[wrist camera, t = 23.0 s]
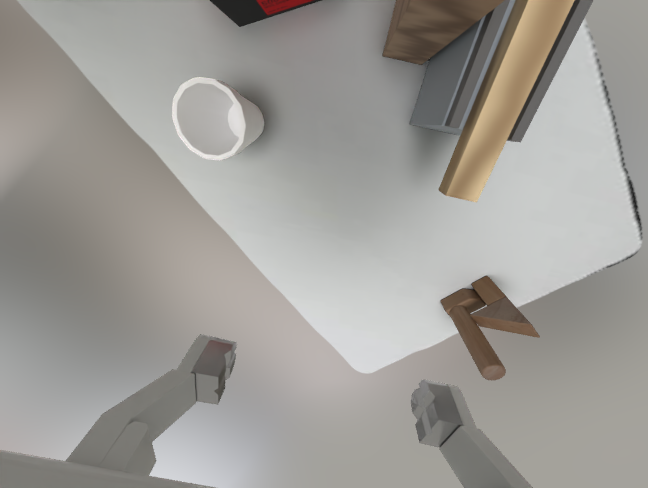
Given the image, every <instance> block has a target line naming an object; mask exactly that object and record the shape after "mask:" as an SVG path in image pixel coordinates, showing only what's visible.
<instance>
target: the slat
mask: <svg viewBox="0 0 648 488" xmlns="http://www.w3.org/2000/svg"><path fill="white" fill-rule="evenodd" d="M574 1H575V0H515V3H514V5H513V8H512V10H511V13H510V15H509V17H508V20H507V22H506V25H505V27H504V30H503V32H502V35H501V37H500V40H499V42H498V45H497V47H496V49H495V52H494V54H493V57H492V59H491V62H490V64H489V67H488V69H487V72H486V74H485V77H484V79H483V81H482V84H481V86H480V89H479V91H478V94H477V96H476V99H475V101H474V104H473V106H472V109H471V111H470V113H469V116H468V118H467V121H466V123H465V126H464V128H463V131H462V133H461V136H460V138H459V141H458V143H457V146H456V148H455V150H454V153H453V155H452V158H451V160H450V163H449V165H448V168H447V170H446V173H445V175H444V178H443V180H442V182H441V185H440V187H439V191H440V192H442V193H443V194H444V195H446V196H450V197H455V198H459V199H464V200H468V201H473V202H477V200H478V198H479V196H480V194H481V192H482V190H483V188H484V186H485V184H486V182H487V180H488V178H489V176H490V174H491V172H492V170H493V167H494V165H495V163H496V161H497V159H498V157H499V155H500V153H501V151H502V149H503V147H504V145H505V143H506V141H507V139H508V137H509V135H510V132H511V130H512V128H513V126H514V124H515V122H516V120H517V118H518V116H519V114H520V112H521V110H522V108H523V106H524V104H525V102H526V100H527V97H528V95H529V93H530V91H531V89H532V87H533V85H534V83H535V81H536V79H537V77H538V75H539V73H540V71H541V69H542V67H543V65H544V62H545V60H546V58H547V56H548V54H549V52H550V50H551V48H552V46H553V44H554V42H555V40H556V38H557V36H558V34H559V32H560V30H561V27H562V25H563V23H564V21H565V19H566V17H567V15H568V13H569V11H570V9H571V7H572V5H573V3H574Z"/></svg>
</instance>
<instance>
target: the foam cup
mask: <svg viewBox="0 0 648 488" xmlns="http://www.w3.org/2000/svg"><path fill="white" fill-rule="evenodd" d="M172 119H173V121H174V124H175V127H176V130H177V133H178V136H179V137H180V138H181V139H182V141H183V142H184V143H185V144H186V146H187V147H188V148H189V149H190V150H191V151H193V152H194V153H196V154H198V155H199V156H201V157H203V158H204V159H212V160H223V159H227V158H229V157H232V156H234V155H237V154H239V153H241V152H242V150H243V149H244V148H245V147H247V146H248V145H249V144H251V143H252V142H253V141H255V140H256V139H257V138H258V137H259V136H260V135H261V133H262V132H263V128H264V119H263V114H262V113H261V111H260V110H259V108H258V107H257V106H256V105H255V104H253V103H252V102H250V101H249V100H247V99H246V98H244V97H243V96H241V95H240V94H239V93H238V91H236V90H235V89H233V88H232V87H230V86H229V85H227V84H225V83H224V82H222V81H220V80H216V79H213V78H203V77H194V78H192V79H190V80H189V81H187V82H185V83H183V84H181V86H180V87H179V89H178V91H177V93H176V94H175V96H174V98H173V108H172Z"/></svg>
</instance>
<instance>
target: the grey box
mask: <svg viewBox="0 0 648 488" xmlns="http://www.w3.org/2000/svg"><path fill="white" fill-rule="evenodd" d="M592 2H593V0H575V1H574V3H573V5H572V7H571V9H570V11H569V13H568V15H567V17H566V19H565V21H564V23H563V25H562V27H561V30H560V32H559V34H558V36H557V38H556V40H555V42H554V44H553V46H552V48H551V50H550V52H549V54H548V56H547V58H546V60H545V62H544V65H543V67H542V69H541V71H540V73H539V75H538V77H537V79H536V81H535V83H534V85H533V87H532V89H531V91H530V93H529V95H528V97H527V100H526V102H525V104H524V106H523V108H522V110H521V112H520V114H519V116H518V118H517V120H516V122H515V124H514V126H513V128H512V130H511V132H510V135H509V137H508V139H507V141H513V142H514V141H515V142H521V140H522V138H523V137H524V135H525V133H526V131H527V129H528V127H529V125H530V123H531V121H532V119H533V117H534V115H535V113H536V111H537V109H538V107H539V105H540V103H541V101H542V99H543V97H544V96H545V94H546V92H547V90H548V88H549V86H550V84H551V82H552V80H553V78H554V76H555V74H556V72H557V70H558V68H559V66H560V64H561V62H562V60H563V58H564V57H565V55H566V53H567V51H568V49H569V47H570V45H571V43H572V41H573V39H574V37H575V35H576V33H577V31H578V29H579V27H580V25H581V23H582V21H583V19H584V18H585V15H586V14H587V12H588V10H589V8H590V6H591V4H592ZM514 3H515V0H504V1H503V2H502V3H501V4H499V5H498V6H497V7H495V8H494V9H493V10H492V11H490V12H489V13H488V14H486V15H485V16H484V17H483V18H481V19H480V20H479V21H477V22H476V23H475V24H474V25H472V26H471V27H470V28H468V29H467V30H466V31H464V32H463V33H462V34H461V35H459V36H458V37H457V38H455V39H454V40H453V41H452V42H450V43H449V44H448V45H446V46H445V47H444V48H443V49H441V50H440V51H439V52H437V53H436V54H435V55H434V56H432V57H431V58H430V61H429V64H428V67H427V71H426V74H425V77H424V80H423V83H422V86H421V89H420V93H419V96H418V99H417V102H416V105H415V108H414V111H413V114H412V118H411V121H410V124H411V125H415V126H420V127H424V128H428V129H433V130H437V131H442V132H446V133H451V134H455V135H461V133H462V131H463V128H464V126H465V123H466V121H467V118H468V116H469V113H470V111H471V109H472V106H473V104H474V101H475V99H476V96H477V94H478V91H479V89H480V86H481V84H482V81H483V79H484V77H485V74H486V72H487V69H488V67H489V64H490V62H491V59H492V57H493V54H494V52H495V49H496V47H497V45H498V42H499V40H500V37H501V35H502V32H503V30H504V27H505V25H506V22H507V20H508V17H509V15H510V13H511V10H512V8H513V5H514Z"/></svg>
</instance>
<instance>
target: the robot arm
mask: <svg viewBox="0 0 648 488" xmlns="http://www.w3.org/2000/svg"><path fill="white" fill-rule="evenodd" d="M235 349H236V342H233V341H229V340H225V339H220V338H216V337H212V336H207V335H201V334H200V335H199V336H198V337H197V338H196V340H195V342H194V343H193V345H192V346H191V348H190V349H189V351H188V352H187V354H186V356H185V357H184V359H183V360H182V362H181V364H180V365H179V367H178V368H177V370H174V369H172V370H171V371H169V372H168V373H166V374H164V375H163V376H161V377H160V378H158V379H157V380H155V381H154V382H152V383H150V384H149V385H147V386H146V387H144V388H143V389H141V390H139V391H138V392H136V393H135V394H133V395H131V396H130V397H128V398H127V399H125V400H124V401H122V402H120V403H119V404H117V405H116V406H114V407H113V408H111V409H109V410H108V411H106V412H105V413H103V414H102V415H101V417H100V418H99V419H98V420H97V422H96V423H95V424H94V425H93V427H92V428H91V429H90V431H89V432H88V433H87V434H86V436H85V437H84V438H83V440H82V441H81V442H80V443H79V445H78V446H77V447H76V448H75V450H74V451H73V452H72V453H71V455H70V456H69V457H68V459H67V460H66V461H61V460H55V459H50V458H44V457H38V456H32V455H26V454H21V453H15V452H8V451H3V450H0V488H214V487H209V486H204V485H198V484H192V483H186V482H181V481H175V480H169V479H164V478H158V477H152V476H149V474H150V472H151V470H152V468H153V466H154V464H155V462H156V458H155V453H154V449H153V445H152V442H153V441H154V440H155V439H156V438H157V437H158V436H159V435H160V434H162V433H163V432H164V431H165V430H166V429H167V428H168V427H169V426H171V425H172V424H173V423H174V422H175V421H176V420H177V419H178V418H179V417H181V416H182V415H183V414H184V413H185V412H186V411H187V410H189V409H190V408H191V407H192V406H193V405H194V404H195V403H196V401H199V402H205V403H211V404H218V403H219V401H220V399H221V396H222V394H223V392H224V389H225V380H227V379H228V378H229V377H230V375H231V372H232V370H233V367H234V363H235V359H236V354H235ZM419 386H420V388H418V389H416V390H415V391H414V392H413V394H412V399H411V407H412V412H413V414H414V415H415V417H416V418H417V422H416V430H417V434H418V438H419V442H420V443H422V444H427V445H431V446H435V447H440V451H441V452H442V454H443V455H444V457H445V459H446V460H447V462H448V463H449V465H450V466H451V468H452V470H453V471H454V473H455V474H456V476H457V477H458V479H459V480H460V482H461V484H462V485H463V487H464V488H533V487H532V486H531V485H530V484H529V483H528V482H527V481H526V480H525V478H524V477H523V476H522V475H521V474H520V473H519V472H518V471H517V470H516V468H515V467H514V466H513V465H512V464H511V463H510V462H509V461H508V460H507V458H506V457H505V456H504V455H503V454H502V453H501V452H500V451H499V450H498V448H497V447H496V446H495V445H494V444H493V443H492V442H491V441H490V440H489V438H488V437H487V436H486V435H485V434H484V433H483V432H482V431H481V430H480V429H477V428H476V425H475V423H474V421H473V418H472V416H471V413H470V411H469V409H468V407H467V404H466V401H465V399H464V397H463V394H462V392H461V390H460V389H459V387H457V386H454V385H448V384H445V383H440V382H434V381H429V380H422V381H421V382H420V383H419Z"/></svg>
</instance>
